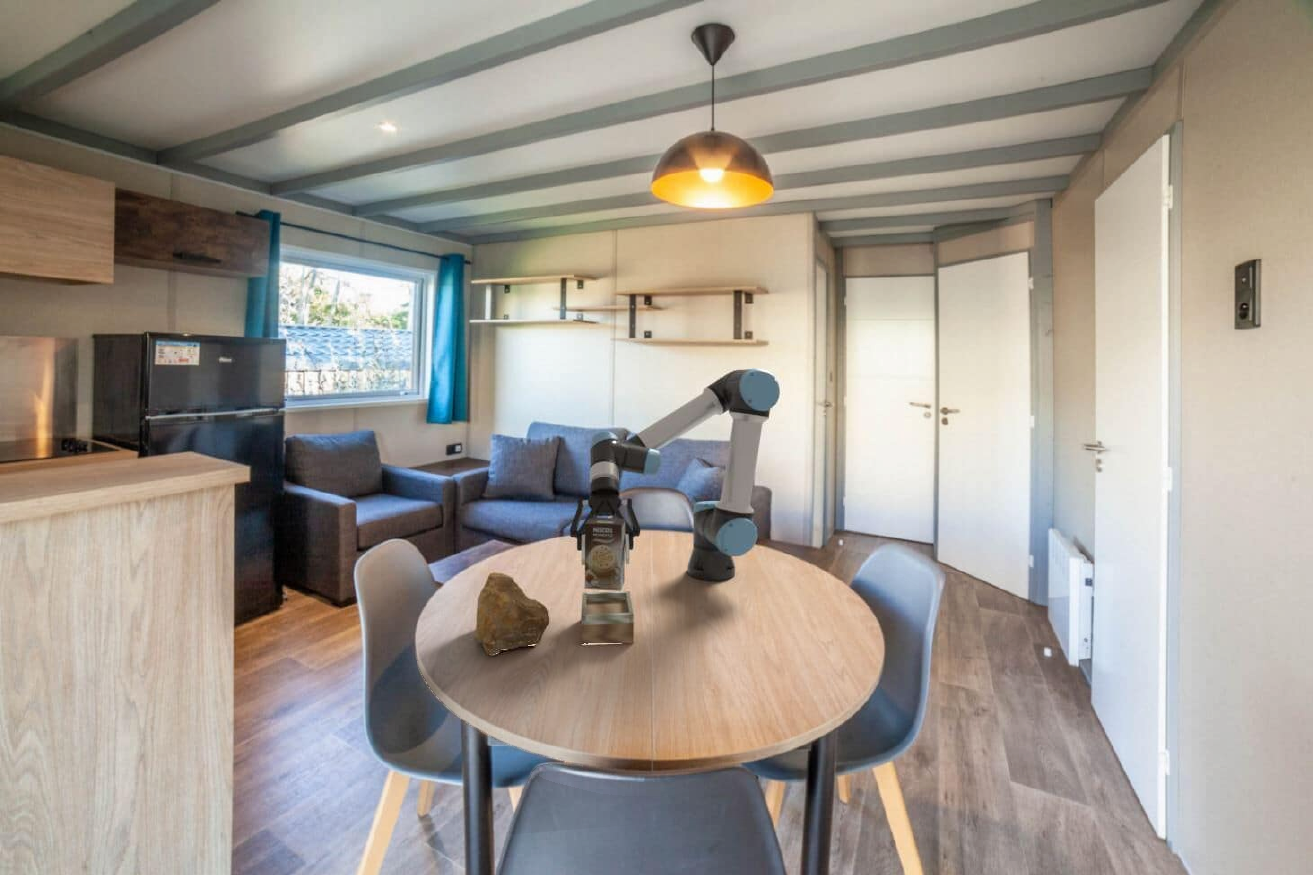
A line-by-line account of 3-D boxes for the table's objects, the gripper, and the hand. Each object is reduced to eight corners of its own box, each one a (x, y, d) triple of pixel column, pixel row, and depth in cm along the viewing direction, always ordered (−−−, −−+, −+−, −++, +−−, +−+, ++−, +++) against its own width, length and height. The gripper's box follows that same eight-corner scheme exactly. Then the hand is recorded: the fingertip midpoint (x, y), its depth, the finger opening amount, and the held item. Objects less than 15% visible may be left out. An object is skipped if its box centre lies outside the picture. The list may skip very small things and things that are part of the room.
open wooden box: (629, 617, 148) (629, 591, 147) (633, 643, 133) (633, 614, 132) (582, 619, 147) (582, 592, 146) (581, 645, 132) (581, 616, 131)
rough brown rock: (548, 666, 124) (553, 598, 123) (467, 667, 120) (472, 597, 120) (546, 625, 146) (550, 568, 146) (478, 625, 143) (482, 566, 142)
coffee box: (583, 589, 136) (582, 523, 134) (589, 580, 142) (588, 516, 141) (621, 591, 135) (621, 524, 134) (625, 581, 141) (625, 517, 140)
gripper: (646, 491, 153) (651, 568, 139) (561, 491, 151) (558, 569, 137) (648, 474, 147) (654, 553, 133) (560, 475, 145) (556, 554, 131)
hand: (605, 561), depth 135 cm, fingers closed on coffee box, 10 cm apart
